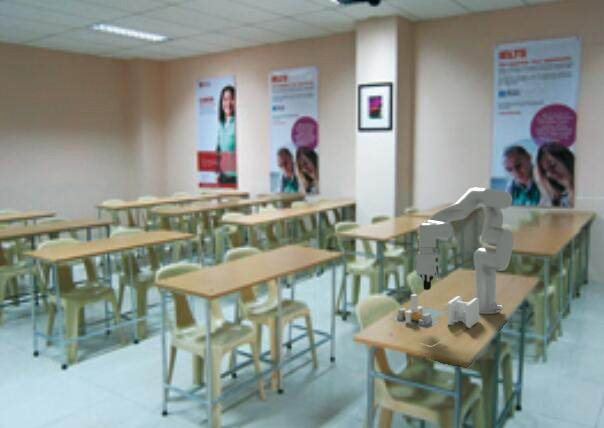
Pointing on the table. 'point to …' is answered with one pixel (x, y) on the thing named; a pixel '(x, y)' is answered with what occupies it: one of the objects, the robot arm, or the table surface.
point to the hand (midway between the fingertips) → (427, 289)
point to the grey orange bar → (416, 315)
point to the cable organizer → (463, 311)
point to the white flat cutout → (413, 308)
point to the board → (415, 323)
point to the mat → (431, 312)
